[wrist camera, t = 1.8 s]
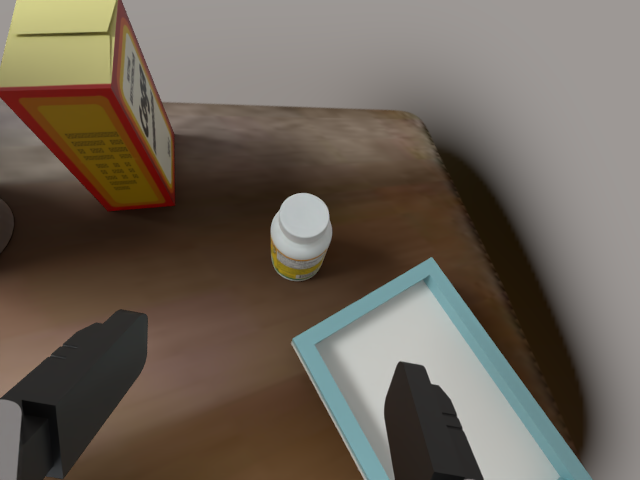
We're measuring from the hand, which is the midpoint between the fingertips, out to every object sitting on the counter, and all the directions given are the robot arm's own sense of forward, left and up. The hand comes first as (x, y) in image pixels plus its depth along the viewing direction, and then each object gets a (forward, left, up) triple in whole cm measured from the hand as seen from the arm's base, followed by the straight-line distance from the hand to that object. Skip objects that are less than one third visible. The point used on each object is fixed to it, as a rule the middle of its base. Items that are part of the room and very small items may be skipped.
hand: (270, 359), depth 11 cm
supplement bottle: (-9, +8, -22) cm, 25 cm away
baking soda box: (-26, -2, -22) cm, 34 cm away
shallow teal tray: (+9, +10, -22) cm, 25 cm away
